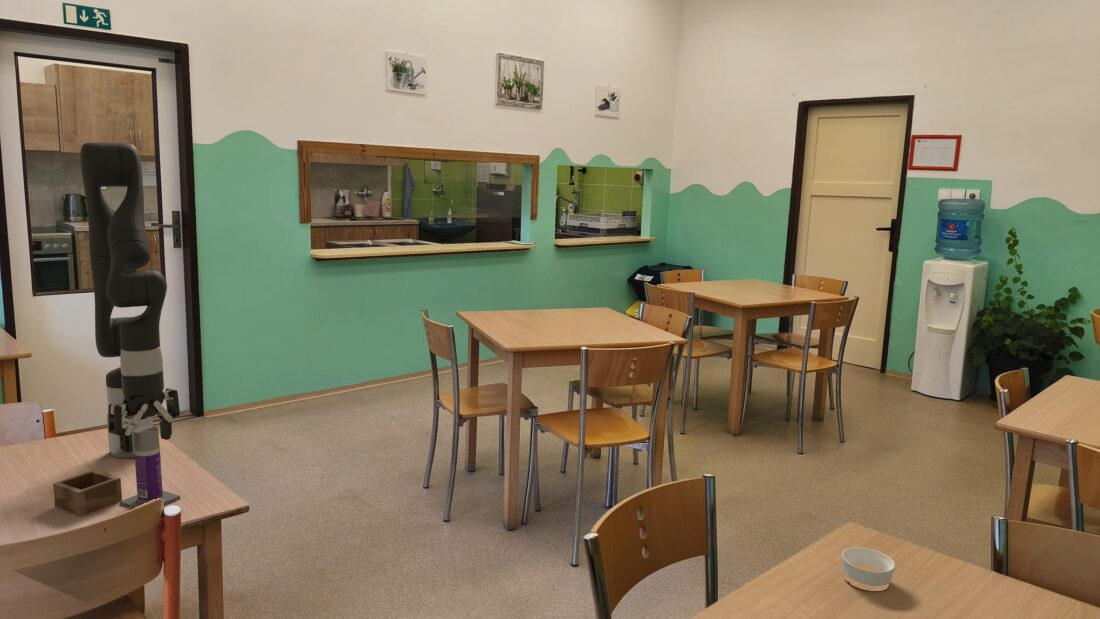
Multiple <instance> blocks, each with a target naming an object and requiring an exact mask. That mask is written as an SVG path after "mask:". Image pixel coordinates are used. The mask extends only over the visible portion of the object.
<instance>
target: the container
mask: <svg viewBox="0 0 1100 619" xmlns="http://www.w3.org/2000/svg"><path fill="white" fill-rule="evenodd" d="M159 433H160V432H159V428H158V427H157V426H154V425H153V426H145V427H140V428H137V429H135V430H134V453H135V457H134V467H135V480H136V483H135V484H136V495H137V497H138V501H139V502H141V503H147V502H149V501H151V500H153V499H157V498H161V499H162V497H163V491H164V490H163V479H162V478H163V476H162V462H161V460H162V457H161V445H160V437H159V436H160V435H159Z"/></svg>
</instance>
